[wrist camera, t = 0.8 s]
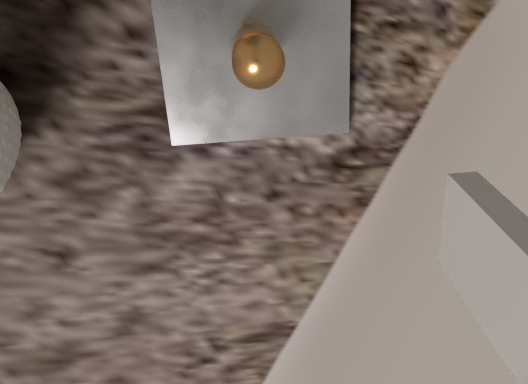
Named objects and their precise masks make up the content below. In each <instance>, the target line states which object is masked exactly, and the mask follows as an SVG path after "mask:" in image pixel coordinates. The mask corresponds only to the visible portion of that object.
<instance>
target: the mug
mask: <svg viewBox="0 0 528 384" xmlns="http://www.w3.org/2000/svg"><path fill="white" fill-rule="evenodd" d="M21 137H22V134H21V121H20V118H19V114H18V109H17V107H16V105H15V103H14V100H13V98H12V97H11V95H10V93H9V92H8V90H7V89H6V87H5V86H4V85H3V84H2V83H1V81H0V192H1V191H2V190H3V189H4V187H5V184H6V182H7V181H8V179H9V178H10V176H11V172H12V170H13V169H14V167H15V162H16V159H17V157H18V151H19V148H20V146H21V143H20V140H21Z"/></svg>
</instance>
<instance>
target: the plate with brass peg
mask: <svg viewBox="0 0 528 384" xmlns="http://www.w3.org/2000/svg"><path fill="white" fill-rule="evenodd" d="M151 5H152V12H153V19H154V26H155V33H156V40H157V47H158V54H159V61H160V68H161V74H162V81H163V88H164V95H165V102H166V109H167V116H168V123H169V130H170V137H171V144H172V146H175V145H188V144H202V143H215V142H229V141H242V140H256V139H269V138H283V137H296V136H310V135H323V134H336V133H349V94H350V11H351V0H151Z"/></svg>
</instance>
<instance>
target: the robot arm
mask: <svg viewBox="0 0 528 384" xmlns="http://www.w3.org/2000/svg"><path fill="white" fill-rule="evenodd" d="M438 263H439V264H440V266H441V267H442V269H443V271H444V272H445V273H446V275H447V277H448V278H449V279H450V281H451V283H452V284H453V286H454V287H455V289H456V290H457V292H458V293H459V295H460V296H461V298H462V299H463V301H464V302H465V304H466V305H467V307H468V308H469V310H470V311H471V313H472V314H473V316H474V317H475V319H476V320H477V322H478V323H479V325H480V326H481V328H482V329H483V331H484V332H485V334H486V335H487V337H488V338H489V340H490V341H491V343H492V344H493V346H494V347H495V349H496V351H497V352H498V354H499V355H500V356H501V358H502V360H503V361H504V363H505V364H506V366H507V367H508V369H509V370H510V372H511V373H512V375H513V376H514V378H515V379H516V381H517V382H518V384H528V217H527V216H526V215H525V214H524V213H523V212H521V211H520V210H519V209H518V208H517V207H516V206H515V205H513V203H511V202H510V201H509V200H508V199H507V198H506V197H505V196H503V195H502V194H501V193H500V192H499V191H498V190H497V189H496V188H495V187H494V186H492V185H491V184H490V183H489V182H488V181H487V180H486V179H484V178H483V177H482V176H481V175H480V174H479V173H478V172H465V173H453V174H448V178H447V187H446V196H445V205H444V213H443V223H442V232H441V241H440V251H439V259H438Z"/></svg>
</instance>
